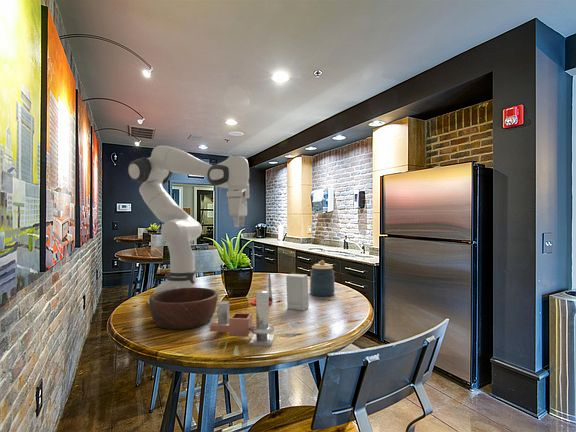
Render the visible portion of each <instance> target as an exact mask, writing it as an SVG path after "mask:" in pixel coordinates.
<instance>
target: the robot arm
mask: <svg viewBox="0 0 576 432" xmlns="http://www.w3.org/2000/svg"><path fill="white" fill-rule="evenodd" d="M127 166H128V167H127V173H128V176H129V177H130V179H131V180H132V181H134V182H136V183H141V185H140V186H139V188H138V190H139V191H138V192H139V194H140V196H141V198H142V200H143V201H144V203H145V204H146V206H147V207H148V209H149V210H150V211H151V212H152V213H153V215H154V216H155V217H156V218H157V219H158V220H159V221H161V222H162V223H163V224H162V226H161V229H160V235H161V237H162V240H164V241H165V242H166V244H167V248H168V252H169V257H170V258H169V260H170V261H169V262H170V263H169V264H170V265H169V266H170V269H169V270H170V271H169V272H167V273H164V277H165V278H166V279H165V280H164V281H162V282H161V284H159V285H157V286H156V287H155V288H154V291H153V293H152V295H153V294H155V293H158V292H161V291H165V290H170V289H177V288H197V287H196V281H197V274H196V269H195V268H196V266H195V265H196V264H195V263H196V260H195V259H196V255H195V252H193V250H192V247H191V242H193V241H195V240H196V239H198V238H199V237H200V236H201V235H202V233H203V227H202V224H201V223H200V222H199V221H197V220H196V219H194V218H193V217H192V216H190V215H189V214H188V213H187V212H186V211H185V210H184V209H183V208H181V207H180V205H178V203H176V201H175V200H174V199H173V198H172V197H171V195H170V194H169V193H168V192H167V190H166V188H164V186H163V185H164V184H167V183H168V181H169V180H170V178H171V177H172V175H173V173H174V174H179V175H187V176H188V175H189V176H197V177H198V176H200V177H204V178H207V181H208V183H209V184H210V185H211V186H213V187H216V188H217V187H218V188H223V189H227V192H226V197H227V198H228V199H227V204H228V205H227V206H228V213H229V216H231V217H232V220H233V227H234V228H240V227H242V228H243V227H244V225H245V219H246V218H245V217H247V216H248V201H247V199H250V182H249V180H250V167H249V166H250V165H249V162H248V159H247V158H246V157H244V156H240V155H235V154H233V155H229V156H228V157H227V158H226V159H225V160H223V161H222V162H221V161H220V162H219V163H216V164H211V163H207V162H206V161H203V160H201V159H199V158H198V157H195V156H194V155H192V154H190V153H188V152H186V151H184V150H182V149H180V148H177V147H174V146H169V145H156V146H155V147H154V148H153V149H152V151H151V155H150V157H145V156H142V157H140V158H137V159H134V160H132V161H131V162H130V163H128V165H127ZM147 303H148V304H147V305H149V299H148V300H147Z"/></svg>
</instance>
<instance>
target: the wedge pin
mask: <svg viewBox="0 0 576 432" xmlns="http://www.w3.org/2000/svg"><path fill="white" fill-rule="evenodd" d="M229 319H230V300H229V301H226V300H224V301H222V300H220V301H219V302H218V303H217V323H224V324H229ZM223 333H226V334H227V333H228V332H223Z"/></svg>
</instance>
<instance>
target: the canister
mask: <svg viewBox="0 0 576 432" xmlns="http://www.w3.org/2000/svg"><path fill="white" fill-rule="evenodd" d="M311 268H312V269H310V271H309V273H310V277H309V278H310V279H309V281H310V282H309V283H310V284H309V293H310V295H312V296H314V297H315V296H316V297H331V296H334V294H335V290H336V289H335V275H334V274H335V273H336V272H335V270H333V268H334V266H332V265H331V264H330V263H326V262H325V260H323V259H322V260H320V261H319V263H314V264H313V265H312V266H311Z"/></svg>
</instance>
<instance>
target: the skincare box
mask: <svg viewBox="0 0 576 432" xmlns="http://www.w3.org/2000/svg"><path fill="white" fill-rule="evenodd" d="M285 277H286V278H285V279H286V280H285V281H286V305H287V306H286V307H287V308H286V309H288V310H295V311H302V312H303V311H305V310H307V309H309V306H310V305H309V304H310V303H309V285H308V284H309V283H308V281H309V279H308V274H303V273H302V274H300V273H290V274H287V275H286V276H285Z"/></svg>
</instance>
